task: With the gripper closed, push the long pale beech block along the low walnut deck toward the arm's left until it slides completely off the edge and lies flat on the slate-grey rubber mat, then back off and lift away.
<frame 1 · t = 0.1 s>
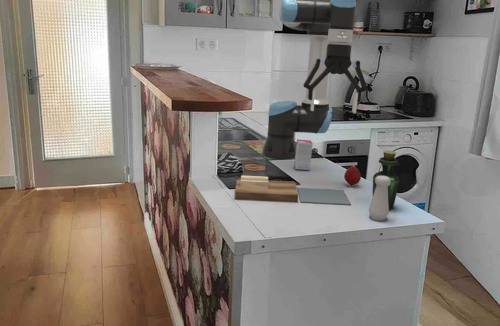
hand: (332, 111, 151), 28 cm above the countertop, fingers open, 13 cm apart
salt shaker: (377, 219, 139), on the countertop
walnut deck: (265, 193, 155), on the countertop
beech block: (254, 186, 154), point 2 cm above the countertop, touching walnut deck
potion bottle: (382, 207, 148), on the countertop
supplement box: (301, 169, 186), on the countertop
onion: (351, 186, 167), on the countertop
slate mat: (322, 196, 155), on the countertop
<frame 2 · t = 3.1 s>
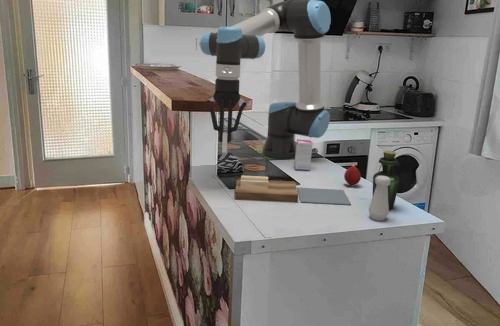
hand: (224, 151, 151), 14 cm above the countertop, fingers closed
nothing on the countertop moved.
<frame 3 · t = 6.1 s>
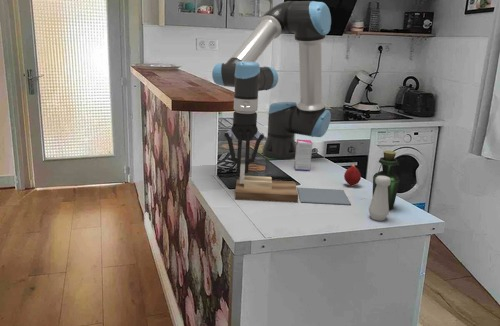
hand: (242, 182, 154), 4 cm above the countertop, fingers closed
beech block: (257, 186, 154), point 3 cm above the countertop
everything else where it was.
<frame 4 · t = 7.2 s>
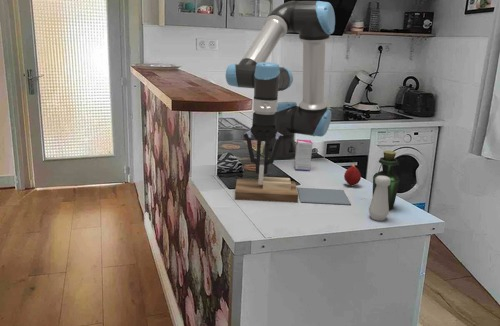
hand: (260, 183, 154), 4 cm above the countertop, fingers closed
beech block: (276, 187, 154), point 2 cm above the countertop, touching gripper, walnut deck
everything else where it was.
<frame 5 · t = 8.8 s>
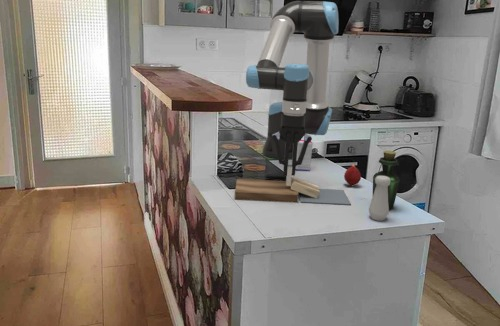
hand: (288, 184, 154), 4 cm above the countertop, fingers closed
beech block: (303, 190, 154), point 2 cm above the countertop, tilted 18°, touching walnut deck
everything else where it was.
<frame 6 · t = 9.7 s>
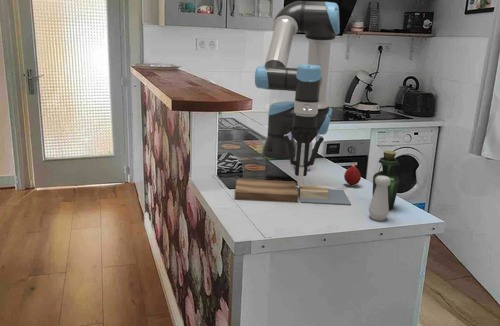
hand: (299, 185, 154), 4 cm above the countertop, fingers closed
beech block: (312, 195, 154), resting on slate mat
everything else where it was.
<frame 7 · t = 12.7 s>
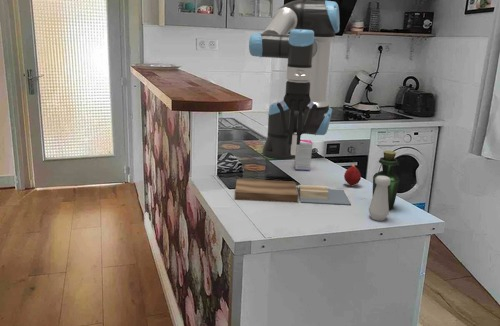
hand: (293, 154, 151), 14 cm above the countertop, fingers closed
nothing on the countertop moved.
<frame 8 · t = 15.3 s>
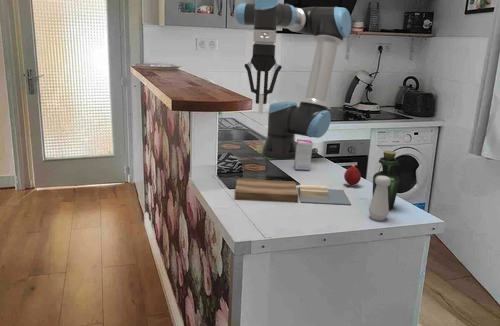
hand: (260, 113, 163), 24 cm above the countertop, fingers closed
nothing on the countertop moved.
at the end: beech block inside the target area (3.4 cm from its centre), resting on slate mat; beech block tilted 0°; beech block touching slate mat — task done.
